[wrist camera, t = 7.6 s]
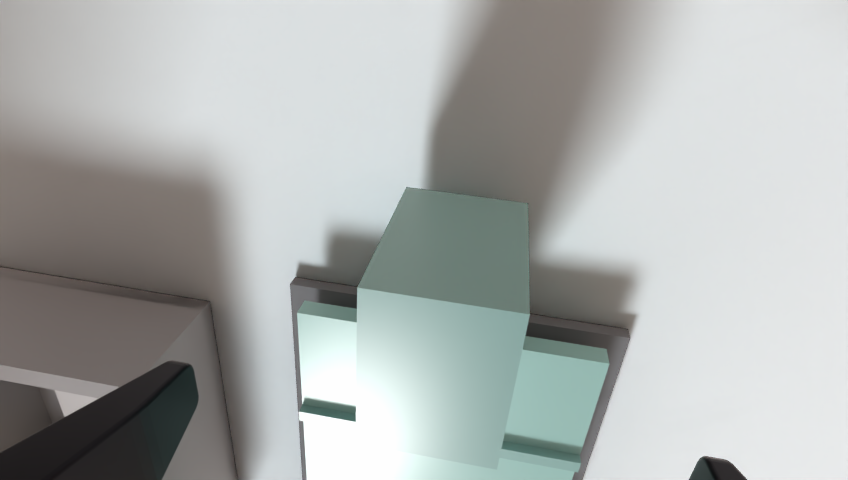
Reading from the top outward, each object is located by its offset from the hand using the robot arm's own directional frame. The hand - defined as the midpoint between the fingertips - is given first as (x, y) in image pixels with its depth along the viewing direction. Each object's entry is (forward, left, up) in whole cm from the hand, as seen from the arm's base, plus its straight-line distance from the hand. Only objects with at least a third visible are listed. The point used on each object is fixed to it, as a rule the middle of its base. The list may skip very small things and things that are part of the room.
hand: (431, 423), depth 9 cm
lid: (-6, 0, -6) cm, 8 cm away
